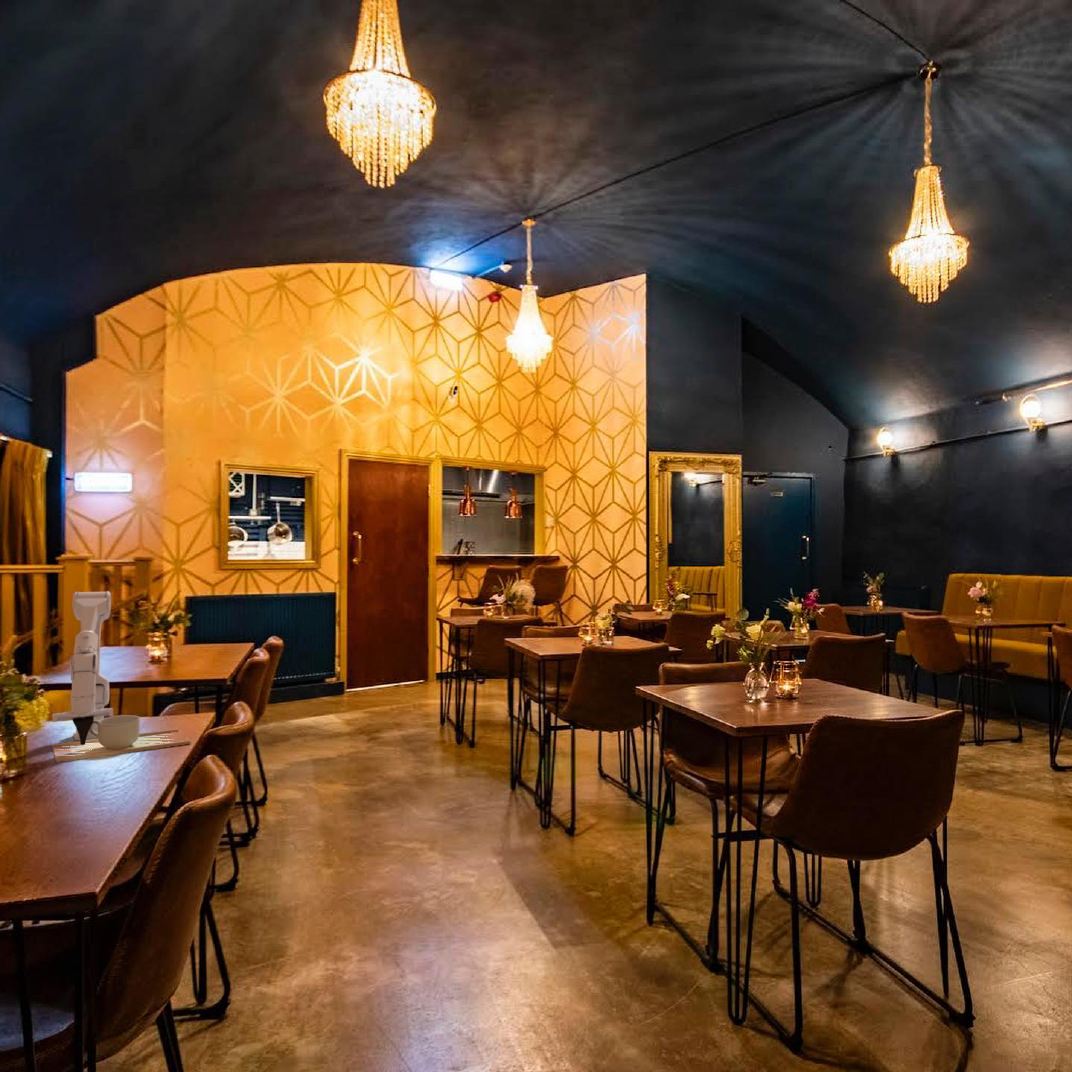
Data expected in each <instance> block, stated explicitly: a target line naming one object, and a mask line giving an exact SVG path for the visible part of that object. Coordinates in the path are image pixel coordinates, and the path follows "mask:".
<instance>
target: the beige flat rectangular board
mask: <svg viewBox="0 0 1072 1072" xmlns="http://www.w3.org/2000/svg"><path fill="white" fill-rule="evenodd" d="M171 732H180V731H179V728H174V729H173V728H171V729H163V730H156V731H150V732H149V731H148V732H141V733H140V732H139V737H142V738H138V739H137V740H174V739H160V738H143V737H165V736H156V735H172V734H165V733H171ZM173 735H174V734H173ZM166 737H168V736H166ZM186 740H187V739H186ZM85 743H94V744H85V745H81V744H80V740H78V741H76V740H75V741H67V742H61V743H60V742H59V743H52V746H51V747H53V748H52V752H53V751H54V752H85V753H54V752H53V755H75V756H54V759H55V763H56V762H57V763H61V762H60V761H64V762H71V761H76V760H75V759H79V760H82V759H81V758H86V759H92V758H99V757H100V756H101V757H106V756H105V755H108V756H115V755H114V754H116V755H121V754H120V753H123V754H127V753H126V752H130V753H135V752H136V753H137V751H138V752H143V750H145V751H150V750H149V749H152V750H158V748H160V749H165V748H164V747H167V748H170V747H169V746H174V747H179V746H178V745H182V746H186V745H185V744H189V745H191V740H190V739H189V740H187V741H180V742H169V741H168V742H162V741H135V742H134V743H143V744H132V745H131V746H129V747H126V748H121V749H107V748H105V747H104V746H103V747H101V746H102V745H101V744H100V743H99V740H98V738H94V739H86V742H85ZM144 743H149V744H144ZM155 743H160V744H155ZM161 743H162V744H161ZM163 743H165V744H163ZM62 746H69V747H62ZM70 746H75V747H70ZM76 746H81V747H76ZM82 746H84V747H82ZM85 746H86V747H85ZM87 746H90V747H87ZM91 746H92V747H91ZM94 746H95V747H94ZM138 746H139V747H138ZM53 749H64V750H53ZM65 749H66V750H65ZM67 749H72V750H67ZM73 749H74V750H73ZM75 749H81V750H75ZM82 749H83V750H82ZM89 749H90V750H89ZM91 749H92V750H91Z"/></svg>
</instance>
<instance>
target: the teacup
mask: <svg viewBox="0 0 1072 1072" xmlns="http://www.w3.org/2000/svg"><path fill="white" fill-rule="evenodd" d="M140 720H141V717H140V716H138V715H133V714H132V715H131V714H122V715H121V714H120V715H113V716H107V717H104V719H101V720H94V721H93V724H94V723H96V724H97V725H98V733H97V732H96V731H95V730H94V729H93V724H92V725H91V727H90V729H89V732H90V733H91V734H92V735H94V736H95V737H97V738H96V739H98V740H99V743H100V744H101V745H102V746H104V747H105V748H107V749H121V748H126V747H129V746H131V745H132V744H133V743H134V742H135V741H137V739H138V737H139V733H140V731H141V730H140V727H141V725H140V723H141V721H140Z"/></svg>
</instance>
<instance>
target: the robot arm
mask: <svg viewBox="0 0 1072 1072" xmlns="http://www.w3.org/2000/svg"><path fill="white" fill-rule="evenodd" d="M111 609H112V594H111V592H110V590H107V591H82V592H81V591H75V592H73V594H72V610H73V614H74V617H75V620H78V621H80V632H79V633H78V634H77V635H75V640H74V641H75V642H74V649H73V655H70V660H69V672H70V681H71V690H70V705H71V711H64V712H58V713H52V722H53V723H57V722H60V721H61V722H62V721H72V723H73V724H74V726H75V729H76V731H75V733H73V734H72V736H73V738H74V740H75V741H76V740H78V741H80V744H81V745H85V742H86V740H91V739H98V738H97V737H95V736H94V735H92V734H91V733H90V732H89V729H90V727H91V725H92V724H93V721H94V720H101V719H104V718H105V717H113V716H114V709H113V707H109V708H108V707H107V708H105V706H107V705H108V704H109V703H110V702H109V701H110V680H109V679H108V678H107V677H105V676H103V675H102V674H101V673H100V663H101V662H100V661H101V631H102V630H101V628H102V626H103V622H104V621H105V620H109V618H110V616H111ZM93 729H94V730H95V731H96V732H97V733H98V725H97V724H96V723H94V724H93Z"/></svg>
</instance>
